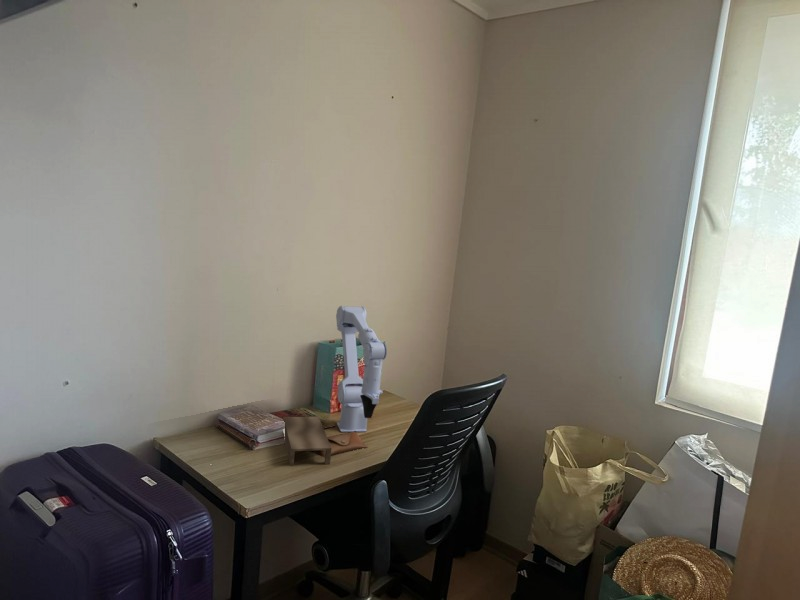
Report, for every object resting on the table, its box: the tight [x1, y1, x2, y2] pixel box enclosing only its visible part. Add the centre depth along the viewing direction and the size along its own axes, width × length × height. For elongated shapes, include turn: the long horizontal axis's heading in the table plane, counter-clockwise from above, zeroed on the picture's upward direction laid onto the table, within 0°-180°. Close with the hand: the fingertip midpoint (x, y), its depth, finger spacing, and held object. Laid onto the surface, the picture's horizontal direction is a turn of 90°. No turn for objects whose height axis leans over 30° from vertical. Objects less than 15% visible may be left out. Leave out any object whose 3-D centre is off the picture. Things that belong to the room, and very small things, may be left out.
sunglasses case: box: [312, 431, 368, 459], centre depth 180 cm, size 18×7×7 cm, turn 132°
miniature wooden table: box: [282, 416, 332, 467], centre depth 177 cm, size 12×25×5 cm, turn 18°
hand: (367, 417), depth 182 cm, fingers closed
